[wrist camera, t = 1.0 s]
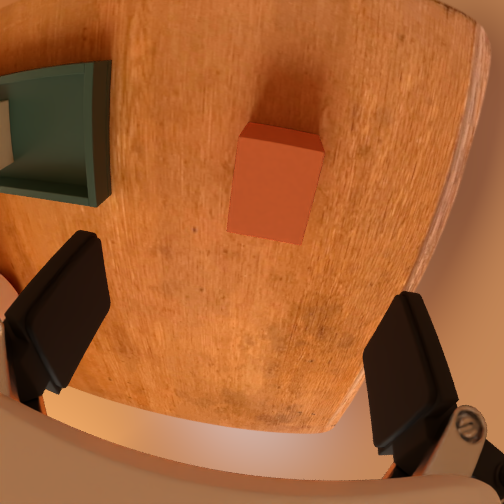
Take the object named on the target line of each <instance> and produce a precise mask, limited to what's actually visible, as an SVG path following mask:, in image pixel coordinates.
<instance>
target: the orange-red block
mask: <svg viewBox="0 0 504 504" xmlns="http://www.w3.org/2000/svg"><path fill="white" fill-rule="evenodd" d="M324 155H325V151H324V149H323V146H322V143H321V140H320V138H319V135H316V134H311V133H306V132H302V131H297V130H292V129H287V128H281V127H276V126H270V125H265V124H259V123H252V122H248V124H247V125H246V127H245V128H244V130H243V131H242V133H241V134H240V136H239V138H238V145H237V153H236V160H235V168H234V175H233V183H232V191H231V199H230V207H229V215H228V223H227V232H231V233H236V234H242V235H247V236H253V237H258V238H263V239H269V240H274V241H280V242H285V243H290V244H295V245H301V244H302V241H303V237H304V233H305V230H306V226H307V222H308V218H309V215H310V211H311V207H312V203H313V199H314V195H315V192H316V188H317V184H318V180H319V176H320V172H321V168H322V164H323V159H324Z"/></svg>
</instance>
